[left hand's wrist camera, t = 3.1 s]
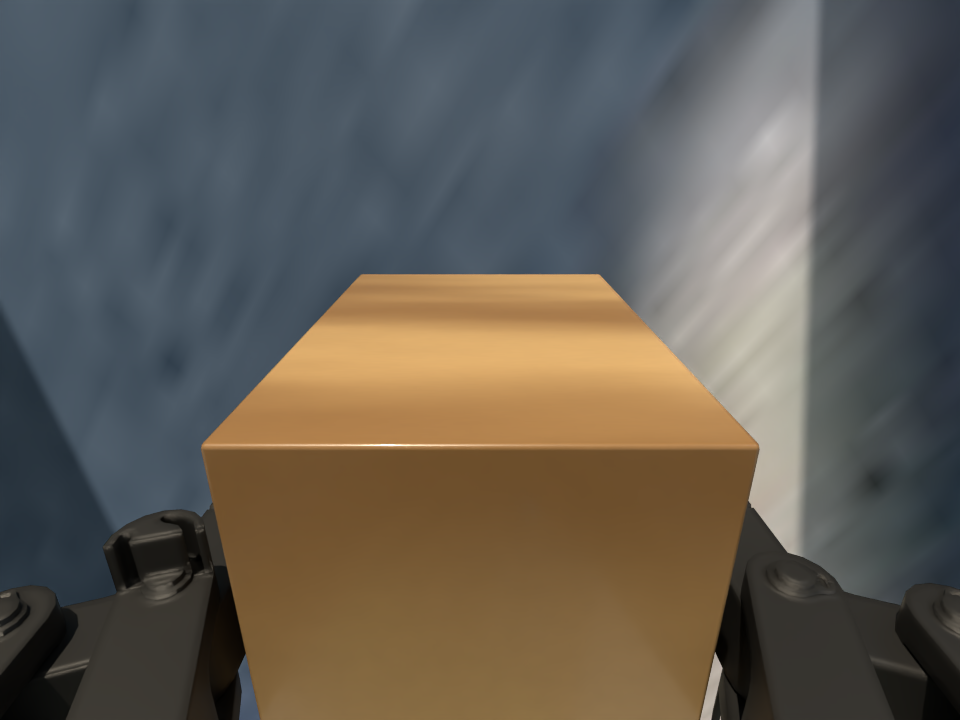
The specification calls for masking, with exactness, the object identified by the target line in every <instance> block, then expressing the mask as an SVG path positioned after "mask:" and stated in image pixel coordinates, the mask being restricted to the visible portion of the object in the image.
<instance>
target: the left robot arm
mask: <svg viewBox="0 0 960 720" xmlns="http://www.w3.org/2000/svg"><path fill="white" fill-rule="evenodd" d="M103 550H104V553H105V556H106V560H107V563H108V566H109V569H110V572H111V575H112V578H113V581H114V584H115V588H116V591H117V593H116V594H114V595H111V596H108V597H104V598H100V599H95V600H91V601H87V602H82V603H78V604H74V605H69V606H65V607H61V608H60V605H59V602H58V600H57V597H56V594H55V593H54V592H53V591H51V590H50V589H49V588H47V587H43V586H34V585H30V586H24V587H18V588H12V589H9V590H6V591H3V592H1V593H0V720H239V714H240V704H241V693H242V690H241V683H240V678H239V673H238V669H239V667H240V665H241V662H242V660H243V658H244V656H245V654H246V652H245V647H244V643H243V638H242V633H241V629H240V624H239V620H238V615H237V611H236V606H235V602H234V597H233V592H232V588H231V583H230V579H229V574H228V570H227V565H226V561H225V556H224V551H223V547H222V542H221V538H220V533H219V529H218V524H217V520H216V515H215V510H214V506H213V503H212V504H211V505H210V509H209V510H207V511H206V512H205V513H204V515H203V516H202V517H200V516H199V515H198V514H196V513H195V512H191V511H186V510H182V509H181V510H166V511H161V512H157V513H153V514H150V515H146V516H143V517H141V518H139V519H137V520H135V521H133V522H131V523H128V524H126V525H125V526H124V527H122V528H121V529H120V530H118V531H117V532H115V533H114V534H113V535H112V536H111V537H110V538H109V539H108V541H107V542H106V543H105V545H104V546H103ZM715 652H716V655H717V657H718V659H719V661H720V663H721V665H722V668H723V669H722V673H721V678H720V682H719V686H718V691H717V695H716V699H715V704H714V708H713V713H712V719H711V720H720V716H721V720H960V590H959V589H956V588H953V587H950V586H944V585H939V584H933V583H926V584H917V585H914V586H912V587H911V588H910V589H908V590H907V591H906V593H905V596H904V598H903V601H902V604H901V605H897V604H892V603H888V602H883V601H879V600H875V599H870V598H866V597H862V596H857V595H854V594H850V593H847V592H843V590H842V588H841V587H840V585H839V584H838V582H837V581H836V579H835V578H834V577H833V576H831V575H830V574H829V573H828V572H827V571H825V570H824V569H823V568H822V567H820V566H819V565H817V564H815V563H813V562H811V561H809V560H807V559H805V558H803V557H800V556H797V555H793V554H790V553H787V551H786V550H785V549H784V547H783V546H782V545H781V544H780V542H779V541H778V540H777V538H776V537H775V536H774V534H773V533H772V532H771V530H770V529H769V528H768V526H767V525H766V524H765V522H764V521H763V520H762V518H761V517H760V516H759V514H758V513H757V512H756V511H755V509H754V508H751V504H750V503H749V501H748V504H747V508H746V513H745V517H744V522H743V527H742V531H741V536H740V540H739V545H738V549H737V554H736V558H735V563H734V568H733V572H732V577H731V581H730V586H729V590H728V595H727V599H726V604H725V608H724V613H723V618H722V622H721V627H720V631H719V636H718V640H717V645H716V649H715Z"/></svg>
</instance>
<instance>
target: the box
mask: <svg viewBox="0 0 960 720" xmlns="http://www.w3.org/2000/svg"><path fill="white" fill-rule="evenodd" d="M201 451H202V456H203V460H204V465H205V469H206V474H207V479H208V483H209V488H210V492H211V497H212V501H213V506H214V510H215V515H216V520H217V524H218V529H219V533H220V538H221V542H222V547H223V551H224V556H225V561H226V565H227V570H228V574H229V579H230V583H231V588H232V592H233V597H234V602H235V606H236V611H237V615H238V620H239V624H240V629H241V633H242V638H243V643H244V647H245V652H246V656H247V661H248V665H249V670H250V674H251V679H252V684H253V688H254V693H255V697H256V702H257V706H258V711H259V715H260V720H700V718H701V713H702V708H703V704H704V699H705V695H706V690H707V686H708V681H709V677H710V672H711V668H712V663H713V658H714V654H715V649H716V645H717V640H718V636H719V631H720V627H721V622H722V618H723V613H724V608H725V604H726V599H727V595H728V590H729V586H730V581H731V577H732V572H733V568H734V563H735V558H736V554H737V549H738V545H739V540H740V536H741V531H742V527H743V522H744V517H745V513H746V508H747V504H748V499H749V495H750V490H751V486H752V481H753V477H754V472H755V467H756V463H757V458H758V454H759V445H758V443H757V442H756V441H755V440H754V439H753V438H752V437H751V436H750V435H749V434H748V432H747V431H746V430H745V429H744V428H743V427H742V426H741V425H740V424H739V423H738V422H737V421H736V420H735V419H734V418H733V416H732V415H731V414H730V413H729V412H728V411H727V410H726V409H725V408H724V407H723V406H722V405H721V404H720V403H719V402H718V400H717V399H716V398H715V397H714V396H713V395H712V394H711V393H710V392H709V391H708V390H707V389H706V388H705V387H704V386H703V385H702V383H701V382H700V381H699V380H698V379H697V378H696V377H695V376H694V375H693V374H692V373H691V372H690V371H689V370H688V369H687V367H686V366H685V365H684V364H683V363H682V362H681V361H680V360H679V359H678V358H677V357H676V356H675V355H674V354H673V353H672V351H671V350H670V349H669V348H668V347H667V346H666V345H665V344H664V343H663V342H662V341H661V340H660V339H659V338H658V337H657V335H656V334H655V333H654V332H653V331H652V330H651V329H650V328H649V327H648V326H647V325H646V324H645V323H644V322H643V321H642V319H641V318H640V317H639V316H638V315H637V314H636V313H635V312H634V311H633V310H632V309H631V308H630V307H629V306H628V305H627V304H626V302H625V301H624V300H623V299H622V298H621V297H620V296H619V295H618V294H617V293H616V292H615V291H614V290H613V289H612V288H611V286H610V285H609V284H608V283H607V282H606V281H605V280H604V279H603V278H602V277H601V276H600V275H360V276H359V277H358V278H357V279H356V280H355V281H354V283H353V284H352V285H351V286H350V287H349V288H348V289H347V290H346V291H345V292H344V293H343V294H342V295H341V296H340V297H339V299H338V300H337V301H336V302H335V303H334V304H333V305H332V306H331V307H330V308H329V309H328V310H327V311H326V312H325V313H324V315H323V316H322V317H321V318H320V319H319V320H318V321H317V322H316V323H315V324H314V325H313V326H312V327H311V328H310V329H309V331H308V332H307V333H306V334H305V335H304V336H303V337H302V338H301V339H300V340H299V341H298V342H297V343H296V344H295V346H294V347H293V348H292V349H291V350H290V351H289V352H288V353H287V354H286V355H285V356H284V357H283V358H282V359H281V360H280V362H279V363H278V364H277V365H276V366H275V367H274V368H273V369H272V370H271V371H270V372H269V373H268V374H267V375H266V376H265V378H264V379H263V380H262V381H261V382H260V383H259V384H258V385H257V386H256V387H255V388H254V389H253V390H252V391H251V392H250V394H249V395H248V396H247V397H246V398H245V399H244V400H243V401H242V402H241V403H240V404H239V405H238V406H237V407H236V408H235V410H234V411H233V412H232V413H231V414H230V415H229V416H228V417H227V418H226V419H225V420H224V421H223V422H222V423H221V424H220V426H219V427H218V428H217V429H216V430H215V431H214V432H213V433H212V434H211V435H210V436H209V437H208V438H207V439H206V440H205V442H204V443H203V444H202V447H201Z"/></svg>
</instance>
